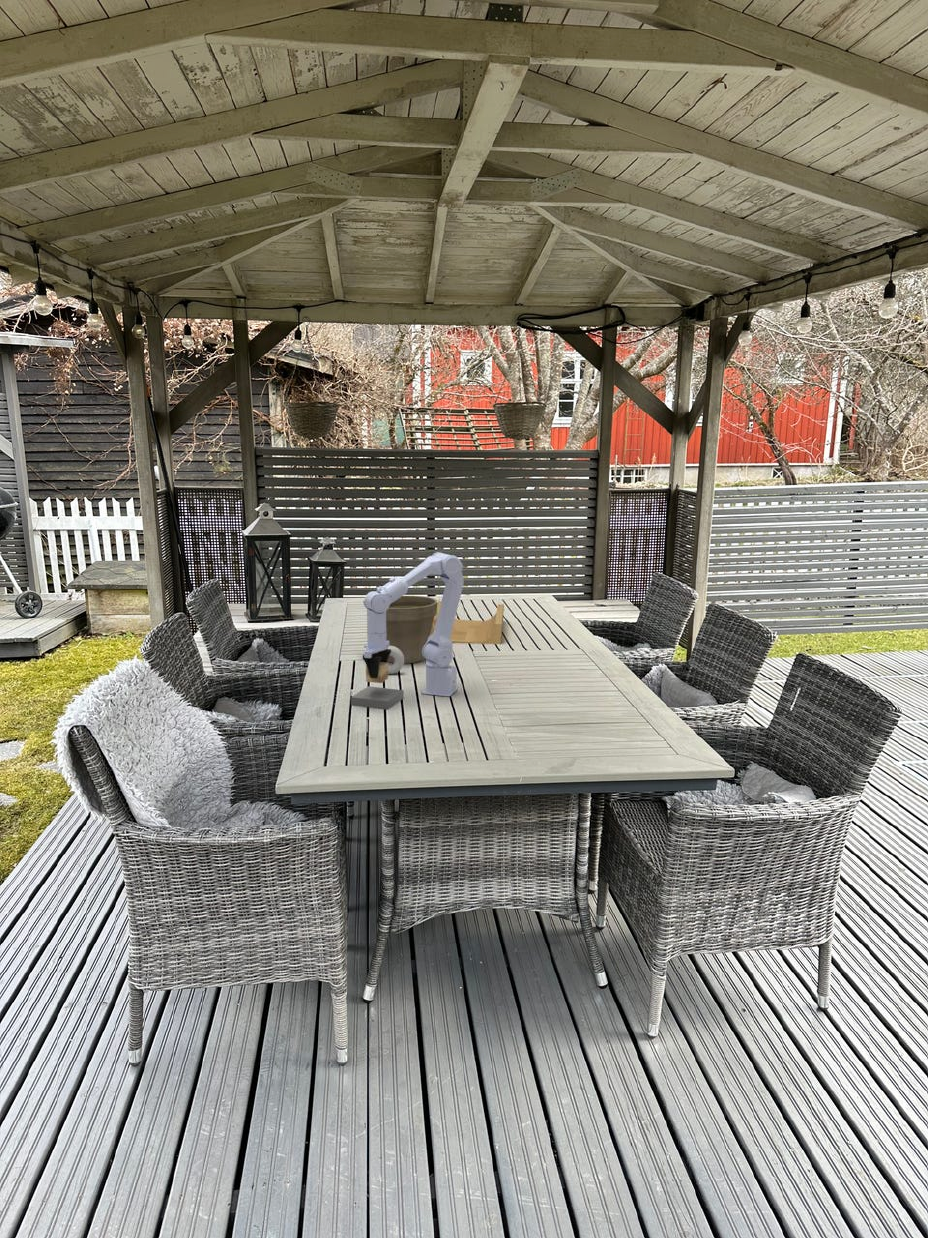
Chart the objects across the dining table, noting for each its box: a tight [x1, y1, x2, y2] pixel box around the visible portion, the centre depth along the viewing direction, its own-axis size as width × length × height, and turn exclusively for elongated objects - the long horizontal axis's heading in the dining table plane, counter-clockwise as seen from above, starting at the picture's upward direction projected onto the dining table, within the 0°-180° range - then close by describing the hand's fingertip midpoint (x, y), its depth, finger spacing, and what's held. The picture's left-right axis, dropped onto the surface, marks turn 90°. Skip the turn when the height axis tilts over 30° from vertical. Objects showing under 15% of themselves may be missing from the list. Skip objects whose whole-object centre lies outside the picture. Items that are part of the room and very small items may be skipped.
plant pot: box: [386, 595, 438, 665], centre depth 289 cm, size 25×25×22 cm
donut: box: [387, 646, 405, 675], centre depth 270 cm, size 10×3×10 cm, turn 88°
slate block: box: [350, 685, 405, 710], centre depth 242 cm, size 12×12×3 cm
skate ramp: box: [430, 596, 505, 645], centre depth 333 cm, size 40×35×16 cm
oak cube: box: [365, 662, 389, 684], centre depth 240 cm, size 5×5×5 cm
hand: (377, 675), depth 240 cm, fingers closed on oak cube, 5 cm apart
